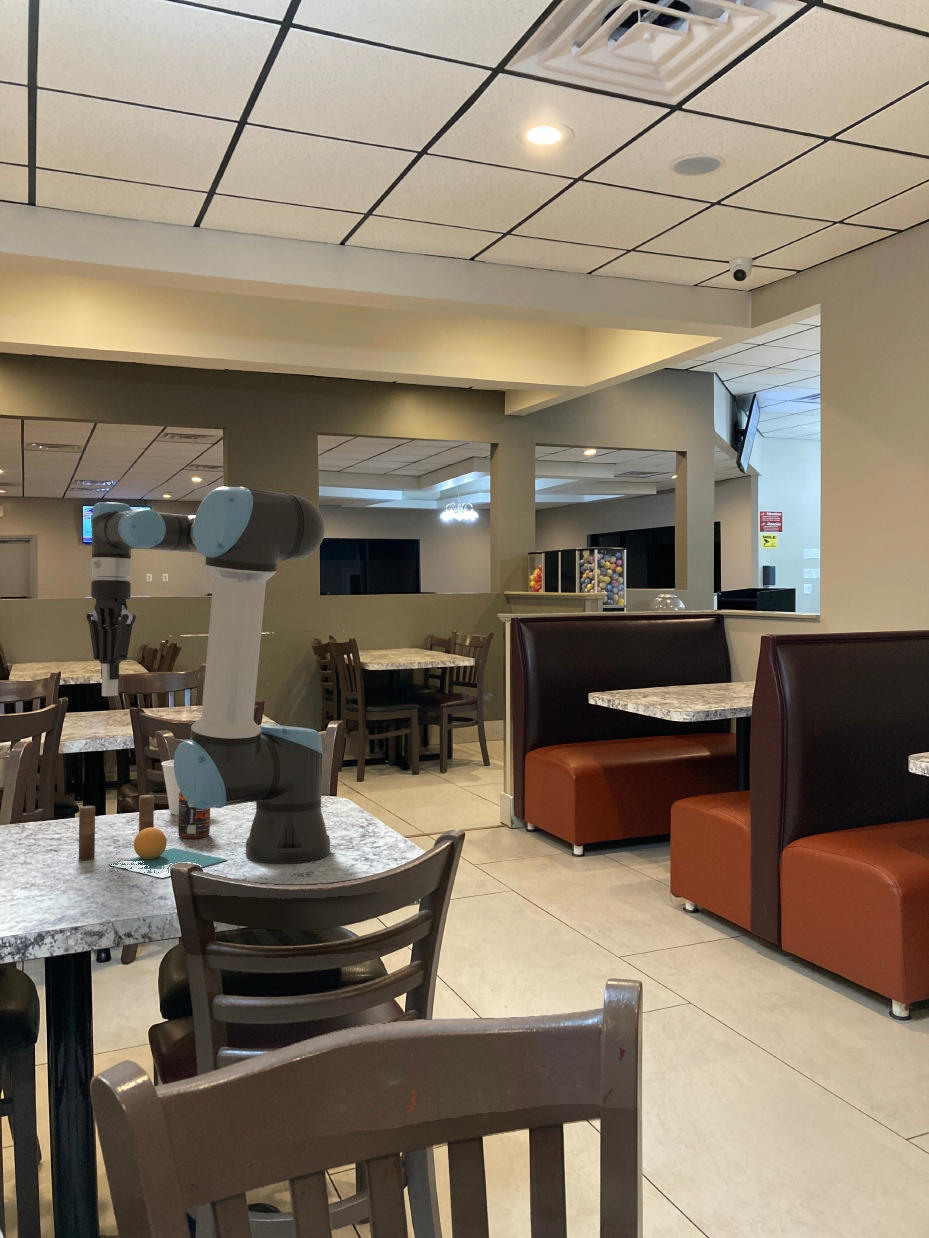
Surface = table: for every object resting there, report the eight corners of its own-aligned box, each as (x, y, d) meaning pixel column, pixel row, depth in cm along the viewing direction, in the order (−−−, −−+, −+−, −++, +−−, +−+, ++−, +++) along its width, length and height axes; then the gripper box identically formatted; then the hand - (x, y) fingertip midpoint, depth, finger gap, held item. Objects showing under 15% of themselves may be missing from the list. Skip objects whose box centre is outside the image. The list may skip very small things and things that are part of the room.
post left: (97, 857, 165) (98, 807, 165) (84, 861, 163) (85, 809, 163) (88, 855, 167) (89, 805, 167) (75, 858, 165) (76, 807, 165)
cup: (215, 808, 208) (215, 759, 208) (198, 818, 198) (198, 766, 198) (172, 807, 209) (172, 758, 209) (152, 817, 199) (153, 765, 199)
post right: (156, 843, 176) (156, 795, 176) (144, 846, 174) (145, 798, 174) (147, 841, 177) (147, 794, 177) (135, 844, 175) (136, 796, 175)
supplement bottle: (198, 840, 179) (198, 781, 179) (171, 838, 181) (172, 779, 181) (216, 834, 185) (216, 776, 184) (190, 831, 186) (190, 774, 186)
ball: (148, 836, 170) (162, 861, 168) (122, 842, 165) (136, 868, 163) (164, 818, 167) (177, 844, 165) (138, 824, 163) (151, 851, 161)
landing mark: (227, 860, 165) (227, 859, 165) (162, 879, 153) (162, 877, 153) (174, 849, 172) (174, 847, 172) (108, 865, 161) (108, 864, 161)
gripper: (75, 579, 191) (73, 694, 191) (115, 578, 184) (114, 698, 184) (106, 580, 197) (105, 692, 197) (147, 580, 190) (146, 696, 190)
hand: (109, 695), depth 191 cm, fingers closed
